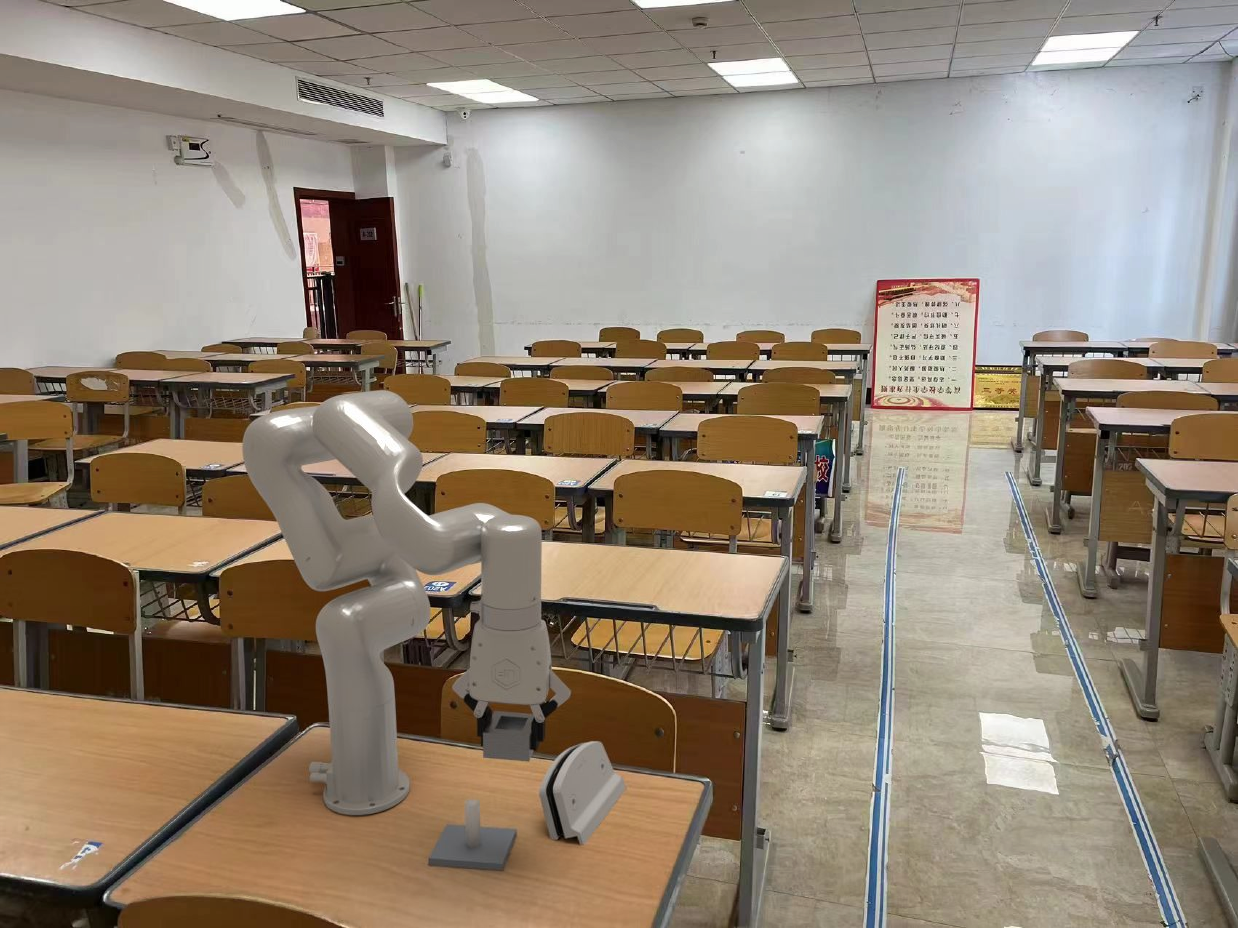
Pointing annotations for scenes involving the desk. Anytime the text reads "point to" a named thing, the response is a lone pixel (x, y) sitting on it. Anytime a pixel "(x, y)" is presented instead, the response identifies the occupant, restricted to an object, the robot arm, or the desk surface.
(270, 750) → the desk surface
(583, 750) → the grey slotted holder
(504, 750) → the grey square hollow block
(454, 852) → the keeper
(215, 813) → the desk surface
